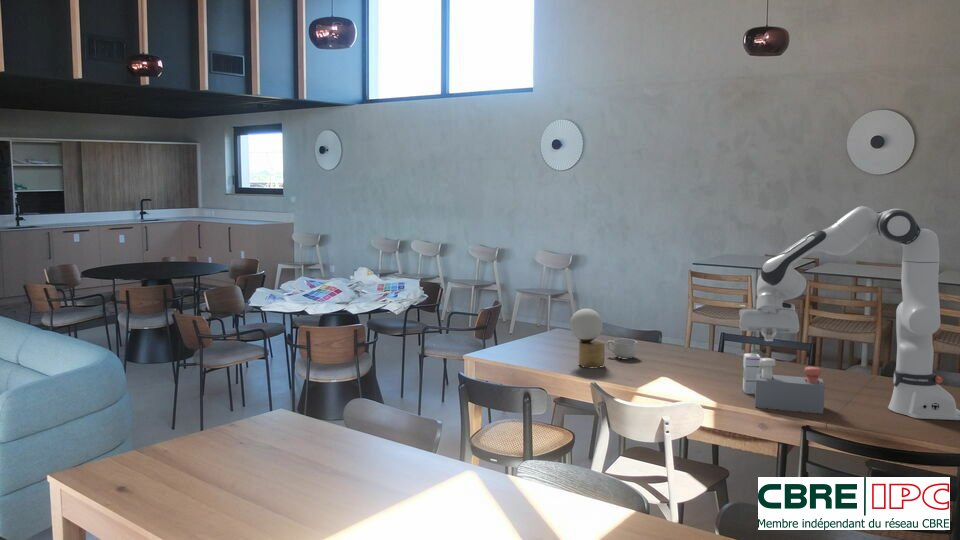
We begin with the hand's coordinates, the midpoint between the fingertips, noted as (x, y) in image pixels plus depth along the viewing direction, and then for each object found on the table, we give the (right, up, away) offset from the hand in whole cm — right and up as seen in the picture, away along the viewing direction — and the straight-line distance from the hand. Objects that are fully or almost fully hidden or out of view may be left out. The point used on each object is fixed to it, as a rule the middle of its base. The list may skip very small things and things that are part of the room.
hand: (768, 340), depth 270 cm
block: (+7, -24, +1) cm, 25 cm away
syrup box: (+1, -22, +20) cm, 30 cm away
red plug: (+14, -24, -2) cm, 28 cm away
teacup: (-38, -15, +78) cm, 88 cm away
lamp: (-56, -17, +63) cm, 86 cm away
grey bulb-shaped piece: (0, -21, +3) cm, 21 cm away
